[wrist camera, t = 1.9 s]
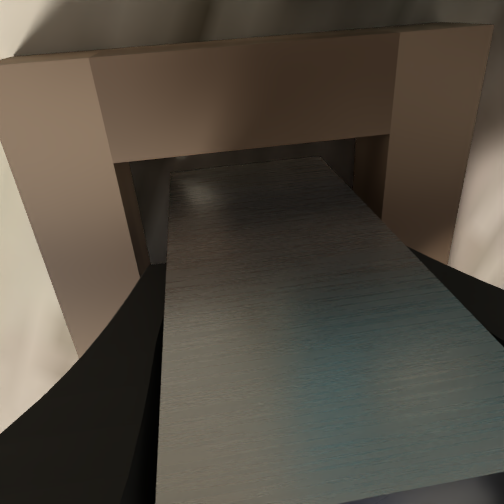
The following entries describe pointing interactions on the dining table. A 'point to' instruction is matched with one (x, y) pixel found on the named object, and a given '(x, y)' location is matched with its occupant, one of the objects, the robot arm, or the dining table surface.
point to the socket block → (233, 135)
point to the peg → (315, 353)
